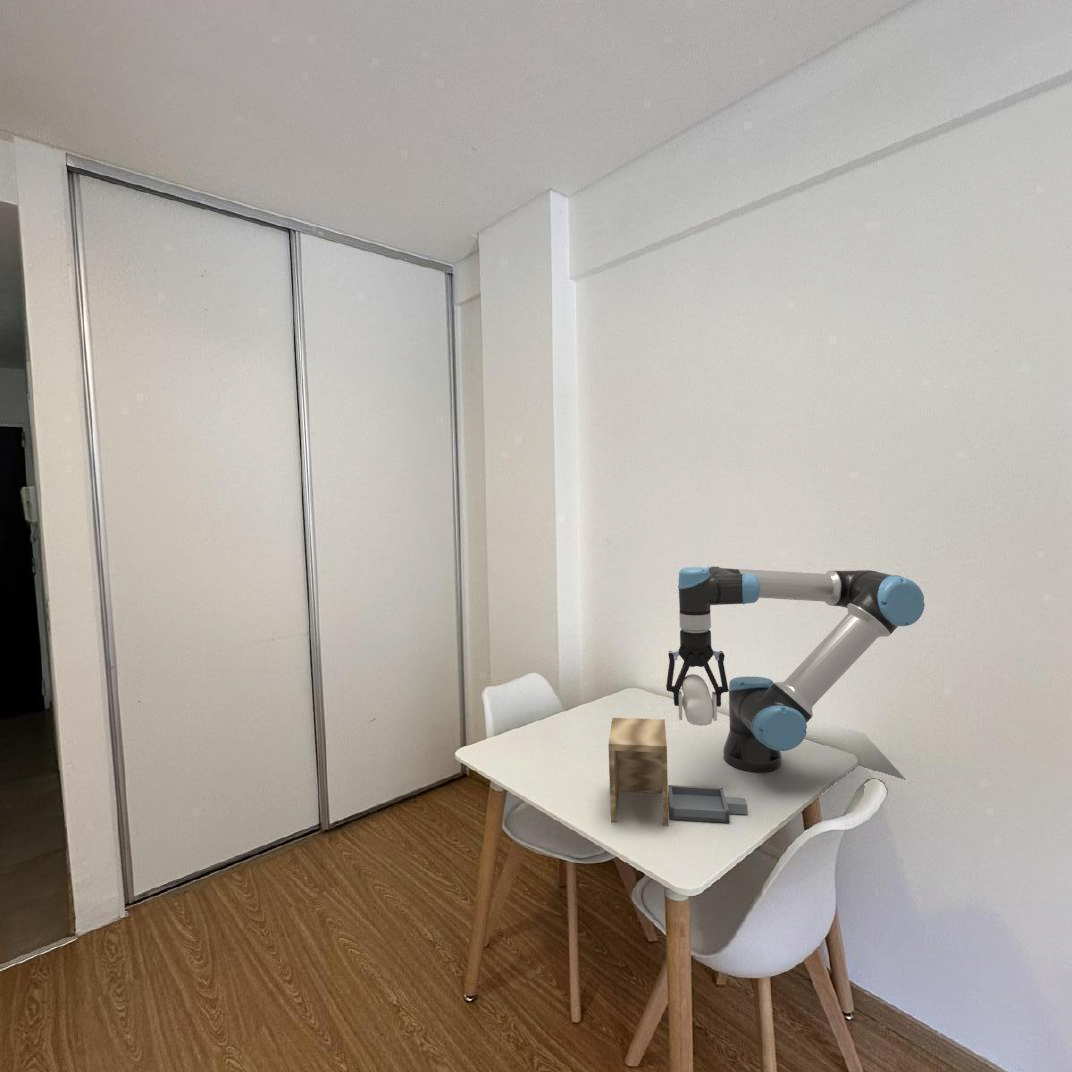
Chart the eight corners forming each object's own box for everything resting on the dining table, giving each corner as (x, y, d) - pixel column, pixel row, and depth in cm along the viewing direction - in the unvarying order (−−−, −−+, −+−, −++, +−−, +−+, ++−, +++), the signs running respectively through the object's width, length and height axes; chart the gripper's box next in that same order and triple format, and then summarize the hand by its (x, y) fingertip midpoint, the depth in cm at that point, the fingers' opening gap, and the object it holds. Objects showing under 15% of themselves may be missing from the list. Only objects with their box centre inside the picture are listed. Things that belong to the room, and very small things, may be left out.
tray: (742, 799, 144) (742, 788, 144) (750, 824, 133) (750, 812, 133) (668, 795, 147) (668, 785, 147) (670, 819, 137) (670, 808, 136)
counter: (666, 790, 150) (664, 719, 149) (668, 825, 134) (666, 746, 133) (614, 788, 152) (612, 717, 151) (610, 822, 137) (608, 743, 135)
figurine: (678, 717, 154) (677, 671, 153) (707, 714, 154) (706, 669, 153) (687, 727, 147) (686, 679, 146) (717, 725, 147) (716, 677, 146)
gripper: (735, 625, 151) (737, 713, 152) (653, 626, 154) (656, 711, 156) (740, 632, 143) (742, 725, 145) (653, 632, 147) (656, 722, 148)
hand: (697, 718), depth 150 cm, fingers closed on figurine, 8 cm apart
